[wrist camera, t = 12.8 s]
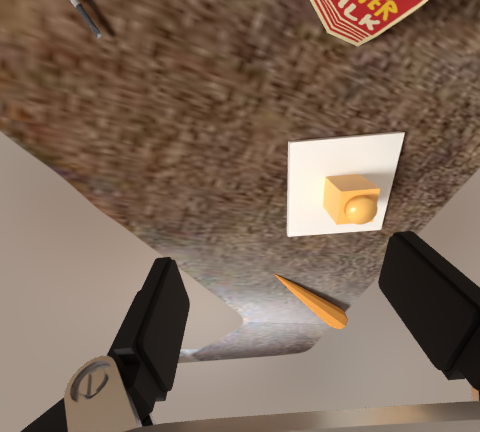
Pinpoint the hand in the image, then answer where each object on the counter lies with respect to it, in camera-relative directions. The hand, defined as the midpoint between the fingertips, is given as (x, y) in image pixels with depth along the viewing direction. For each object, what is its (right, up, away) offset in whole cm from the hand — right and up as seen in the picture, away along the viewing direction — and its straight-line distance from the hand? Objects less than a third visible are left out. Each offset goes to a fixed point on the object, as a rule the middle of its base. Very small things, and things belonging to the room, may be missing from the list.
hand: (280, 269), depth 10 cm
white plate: (+14, +7, +27) cm, 31 cm away
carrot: (+13, -14, +38) cm, 43 cm away
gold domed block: (+14, +6, +26) cm, 30 cm away
